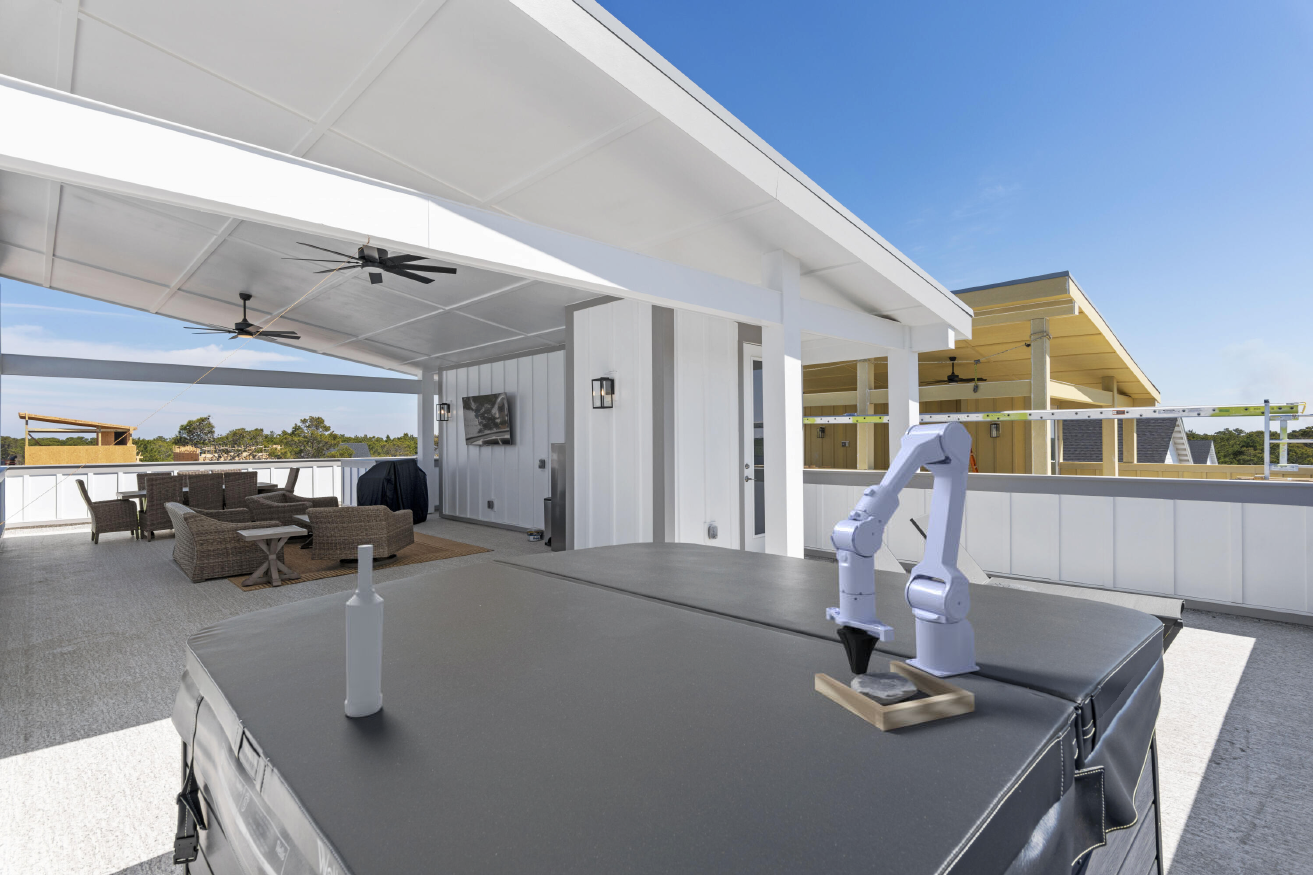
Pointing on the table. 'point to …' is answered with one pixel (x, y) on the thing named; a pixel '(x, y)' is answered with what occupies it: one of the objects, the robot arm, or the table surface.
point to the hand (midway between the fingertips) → (859, 672)
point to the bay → (939, 706)
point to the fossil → (884, 687)
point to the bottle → (364, 642)
